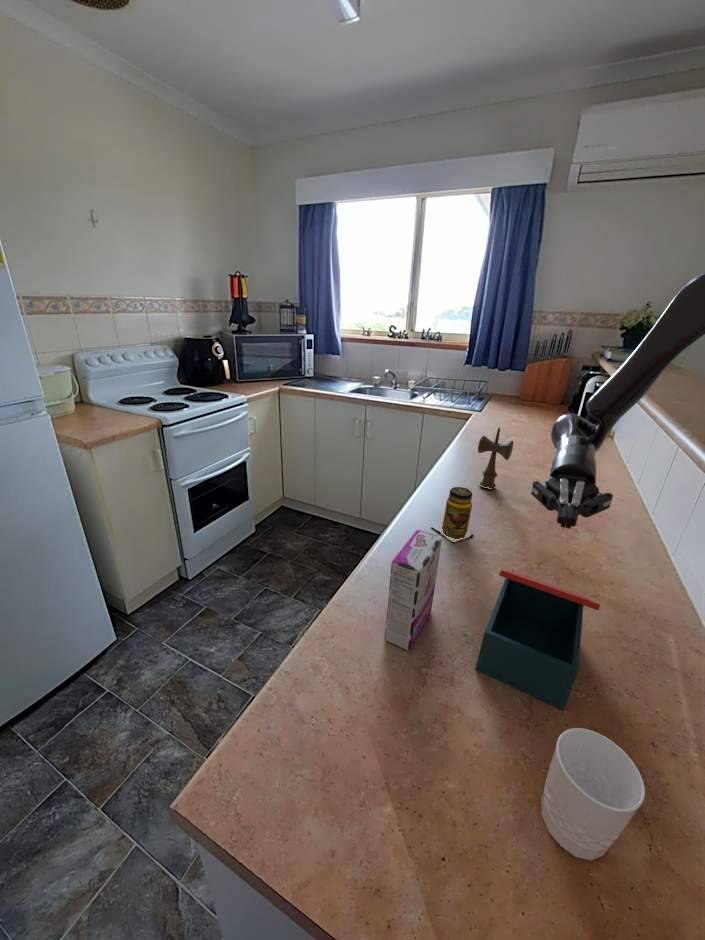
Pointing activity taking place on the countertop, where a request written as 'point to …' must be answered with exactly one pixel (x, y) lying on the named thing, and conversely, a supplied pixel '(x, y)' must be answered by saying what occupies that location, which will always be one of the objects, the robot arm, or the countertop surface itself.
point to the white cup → (589, 793)
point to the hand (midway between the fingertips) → (566, 523)
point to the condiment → (457, 513)
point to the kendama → (493, 457)
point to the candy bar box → (412, 588)
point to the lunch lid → (550, 589)
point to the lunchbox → (533, 642)
